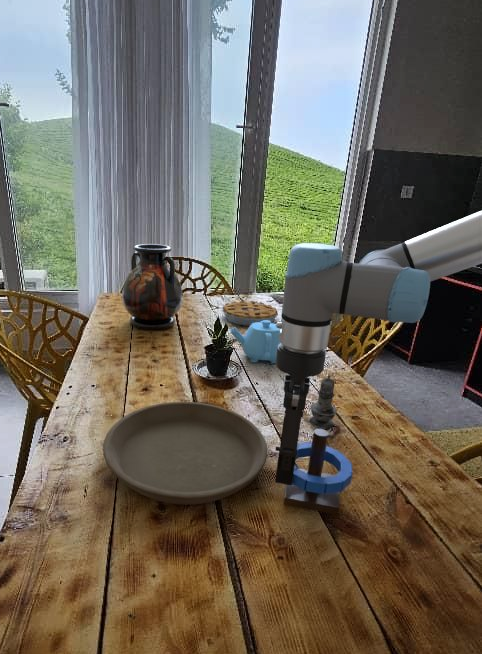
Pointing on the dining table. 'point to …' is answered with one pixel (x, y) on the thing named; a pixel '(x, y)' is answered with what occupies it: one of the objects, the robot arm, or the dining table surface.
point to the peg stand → (316, 460)
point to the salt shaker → (324, 405)
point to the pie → (249, 312)
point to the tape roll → (323, 483)
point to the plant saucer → (185, 452)
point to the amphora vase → (152, 288)
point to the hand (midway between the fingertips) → (285, 464)
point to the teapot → (259, 341)
